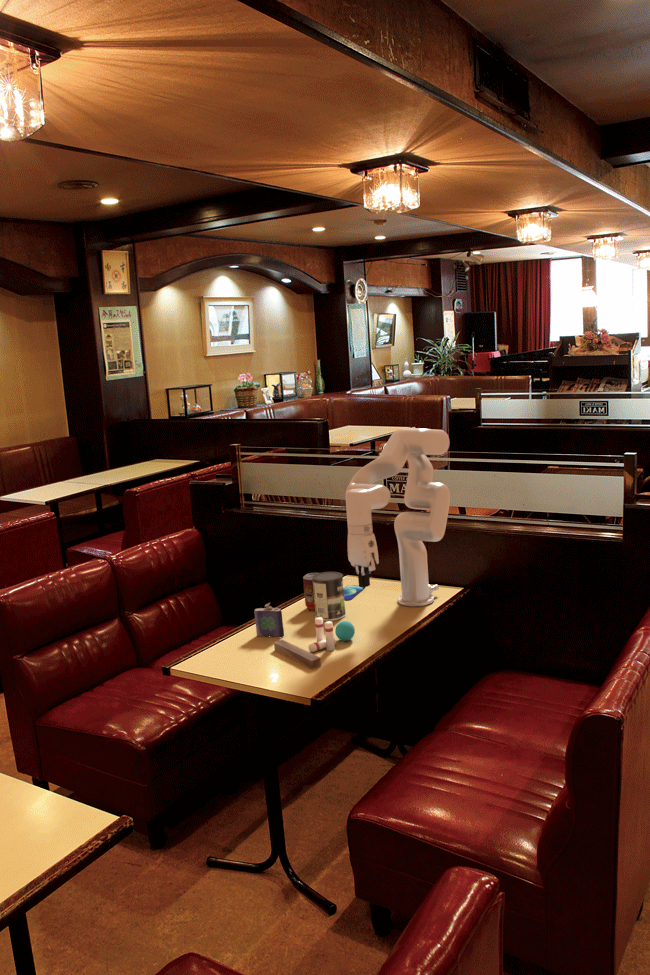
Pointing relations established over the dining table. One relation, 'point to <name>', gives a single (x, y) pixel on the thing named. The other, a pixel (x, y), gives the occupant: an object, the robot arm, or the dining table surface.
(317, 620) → the back pin right
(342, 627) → the ball
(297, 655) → the back wall
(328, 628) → the back pin left
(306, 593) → the soda can
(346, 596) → the smartphone
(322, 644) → the front pin
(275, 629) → the flask
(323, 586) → the coffee can
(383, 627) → the dining table surface
